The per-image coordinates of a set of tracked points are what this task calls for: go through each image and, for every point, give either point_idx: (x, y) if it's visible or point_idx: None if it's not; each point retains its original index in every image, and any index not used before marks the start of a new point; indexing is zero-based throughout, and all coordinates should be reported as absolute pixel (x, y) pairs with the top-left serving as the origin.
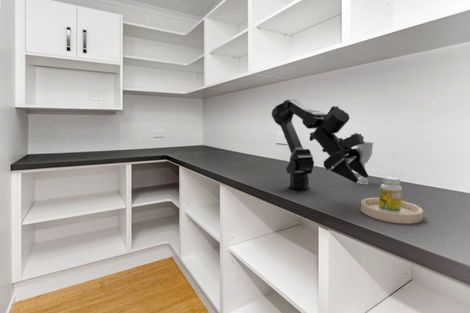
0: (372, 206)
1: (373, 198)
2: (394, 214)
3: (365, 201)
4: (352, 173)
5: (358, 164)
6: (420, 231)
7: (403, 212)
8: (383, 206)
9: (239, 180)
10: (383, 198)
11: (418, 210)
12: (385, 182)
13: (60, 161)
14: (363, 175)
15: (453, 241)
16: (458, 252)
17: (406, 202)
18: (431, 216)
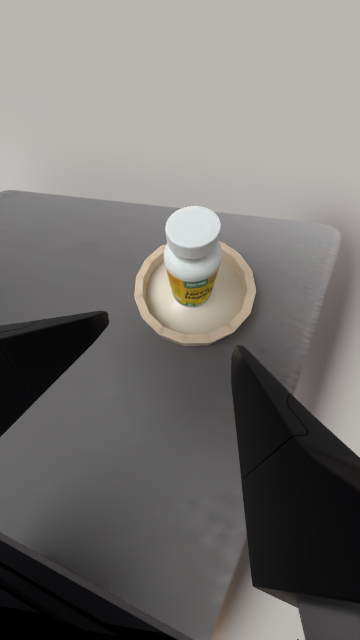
0: (180, 320)
1: (150, 316)
2: (252, 278)
3: (181, 333)
4: (274, 379)
5: (18, 353)
6: (263, 256)
7: None
8: (209, 295)
9: None
10: (211, 287)
11: None
12: (209, 254)
13: None
14: (99, 330)
15: (275, 227)
16: (312, 227)
17: (152, 256)
18: None
